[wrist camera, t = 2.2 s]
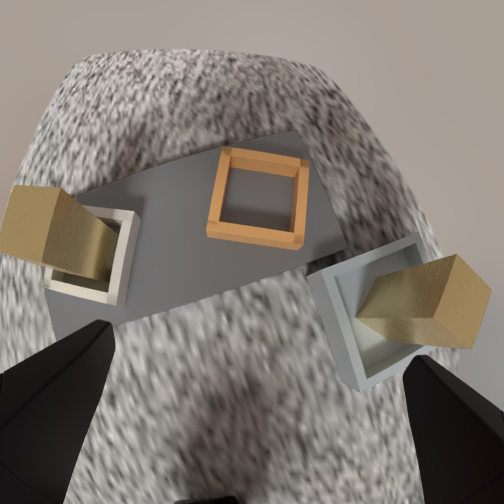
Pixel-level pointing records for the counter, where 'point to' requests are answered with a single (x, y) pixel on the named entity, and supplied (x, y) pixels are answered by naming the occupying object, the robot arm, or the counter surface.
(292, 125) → the counter surface
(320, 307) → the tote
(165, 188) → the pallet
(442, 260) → the block
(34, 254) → the block
